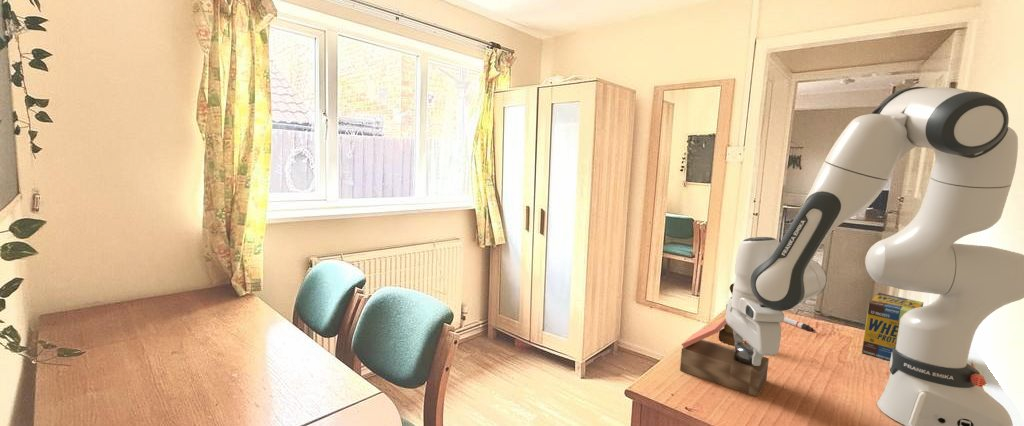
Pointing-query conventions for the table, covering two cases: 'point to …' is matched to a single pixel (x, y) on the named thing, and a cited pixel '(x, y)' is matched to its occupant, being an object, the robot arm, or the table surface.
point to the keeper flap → (705, 333)
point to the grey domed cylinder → (743, 353)
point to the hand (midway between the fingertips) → (746, 356)
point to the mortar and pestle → (727, 330)
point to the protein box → (884, 324)
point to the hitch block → (723, 367)
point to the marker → (797, 324)
